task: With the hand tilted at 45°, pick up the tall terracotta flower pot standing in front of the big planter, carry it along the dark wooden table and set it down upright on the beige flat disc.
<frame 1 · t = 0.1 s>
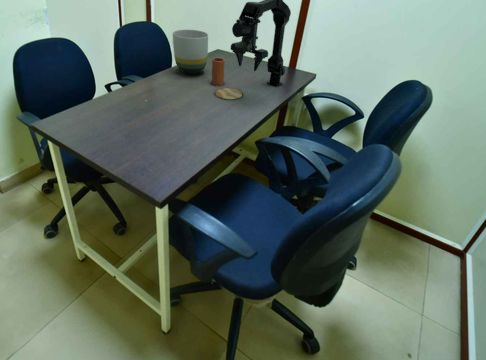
hand: (247, 68, 147), 15 cm above the table, tool pointing down, fingers open, 9 cm apart
terracotta pot: (217, 83, 168), on the table
planter: (191, 72, 179), on the table
beige flat disc: (228, 94, 157), on the table
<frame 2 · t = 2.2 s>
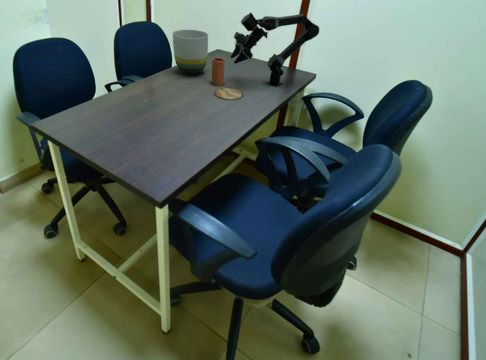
hand: (232, 60, 161), 13 cm above the table, tool tilted 45°, fingers open, 9 cm apart
nothing on the table moved.
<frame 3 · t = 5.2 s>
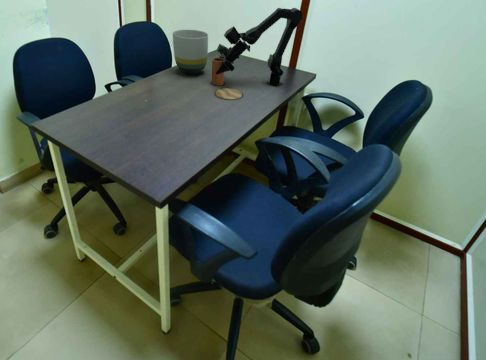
hand: (215, 71, 164), 7 cm above the table, tool tilted 45°, fingers closed on terracotta pot, 7 cm apart
terracotta pot: (217, 83, 168), on the table, touching gripper
everything else where it was.
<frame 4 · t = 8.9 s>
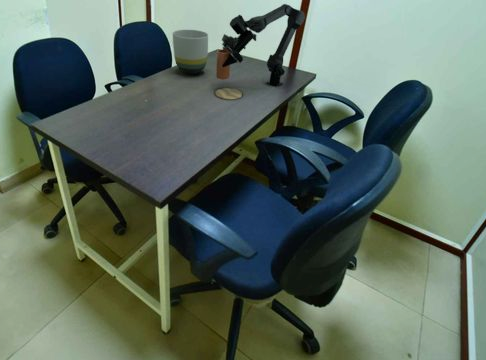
hand: (220, 64, 153), 13 cm above the table, tool tilted 45°, fingers closed on terracotta pot, 7 cm apart
terracotta pot: (222, 77, 158), point 7 cm above the table, touching gripper
everything else where it was.
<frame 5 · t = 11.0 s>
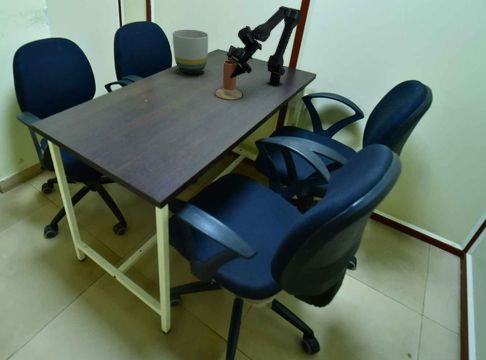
hand: (227, 75, 151), 10 cm above the table, tool tilted 45°, fingers closed on terracotta pot, 7 cm apart
terracotta pot: (229, 87, 155), point 3 cm above the table, touching gripper
everything else where it was.
when the fingers open (7 cm above the table, at t = 12.4 s): terracotta pot stays where it is, resting on beige flat disc.
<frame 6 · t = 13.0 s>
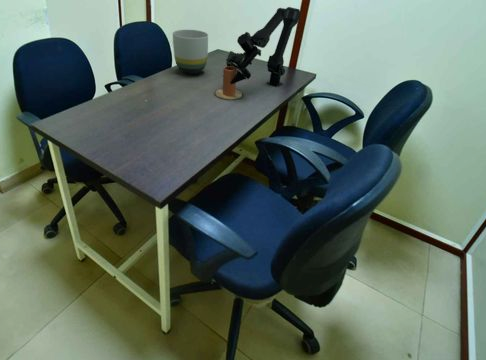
hand: (226, 80, 152), 7 cm above the table, tool tilted 45°, fingers open, 9 cm apart
terracotta pot: (228, 93, 157), resting on beige flat disc
everything else where it was.
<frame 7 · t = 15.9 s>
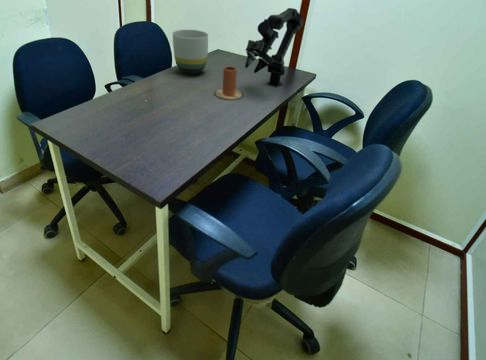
hand: (249, 70, 153), 12 cm above the table, tool tilted 35°, fingers open, 9 cm apart
nothing on the table moved.
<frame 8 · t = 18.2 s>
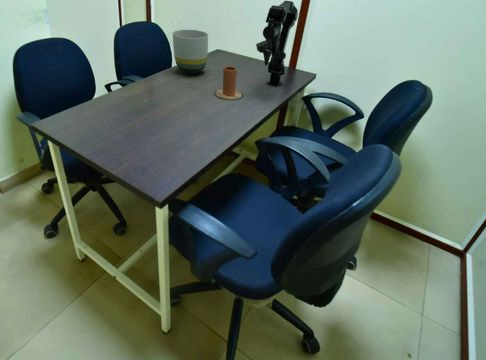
hand: (269, 67, 155), 13 cm above the table, tool pointing down, fingers open, 9 cm apart
nothing on the table moved.
at the end: terracotta pot inside the target area on the beige flat disc (0.0 cm from its centre), point 0.4 cm above the beige flat disc's base; terracotta pot tilted 0°; the gripper is holding nothing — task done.
